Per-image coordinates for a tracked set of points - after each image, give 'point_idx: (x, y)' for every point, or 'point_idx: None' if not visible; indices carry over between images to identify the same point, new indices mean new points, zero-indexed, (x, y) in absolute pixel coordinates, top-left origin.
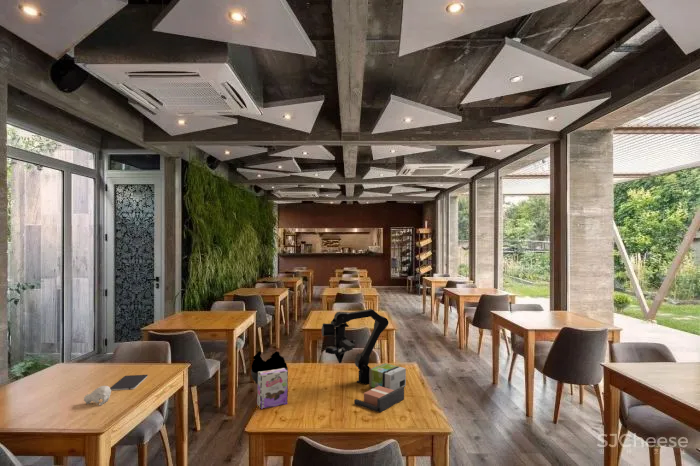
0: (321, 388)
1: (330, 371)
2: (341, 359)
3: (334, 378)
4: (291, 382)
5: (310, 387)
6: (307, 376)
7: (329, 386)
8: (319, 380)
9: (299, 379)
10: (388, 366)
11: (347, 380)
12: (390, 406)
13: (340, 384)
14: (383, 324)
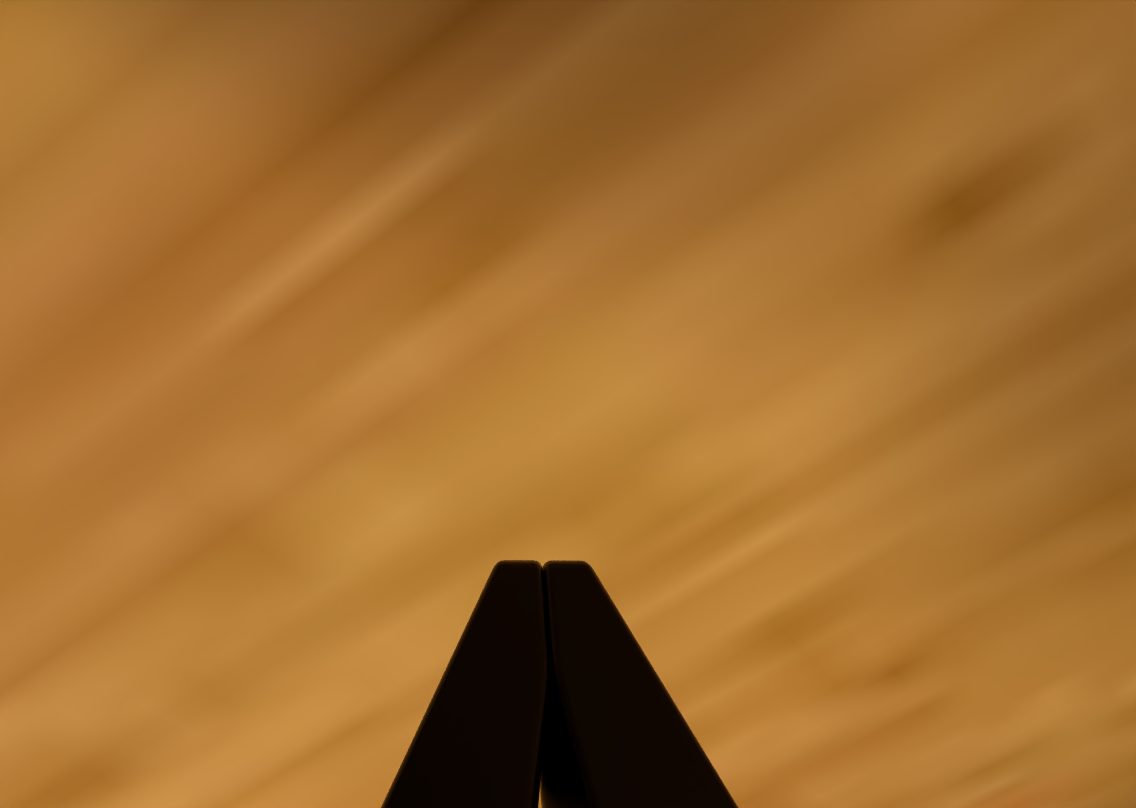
0: (1027, 276)
1: (23, 723)
2: (535, 735)
3: (260, 454)
4: (956, 784)
5: (1061, 475)
6: None
7: (806, 215)
8: None
9: (765, 790)
10: None
11: (75, 121)
12: None
13: (493, 75)
14: None
